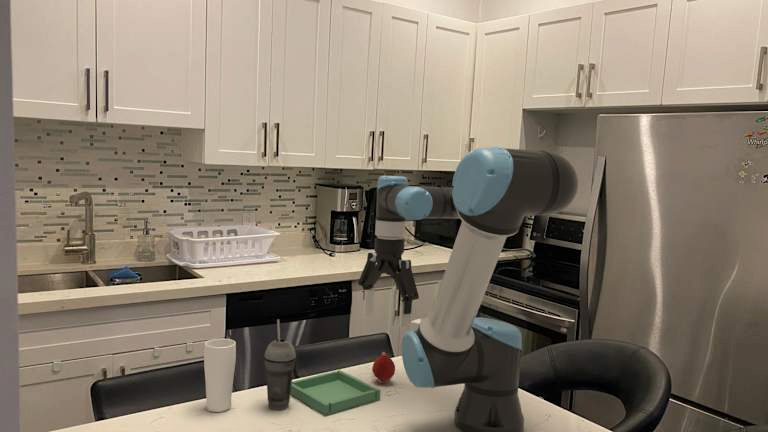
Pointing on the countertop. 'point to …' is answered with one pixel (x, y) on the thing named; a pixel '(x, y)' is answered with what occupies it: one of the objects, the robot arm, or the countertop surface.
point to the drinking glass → (219, 373)
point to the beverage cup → (279, 372)
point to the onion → (383, 368)
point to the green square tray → (333, 392)
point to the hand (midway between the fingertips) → (385, 320)
